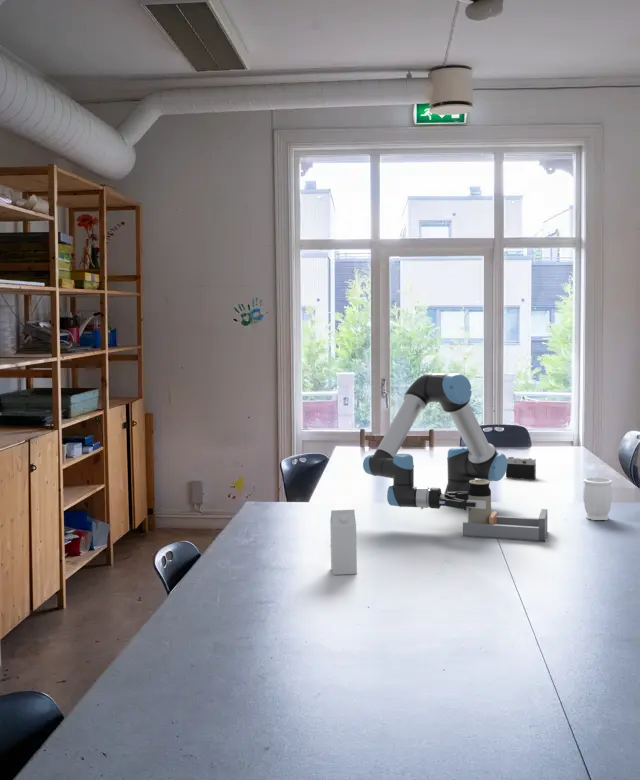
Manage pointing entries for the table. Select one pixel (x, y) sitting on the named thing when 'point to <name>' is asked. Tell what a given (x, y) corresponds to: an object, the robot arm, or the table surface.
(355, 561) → the milk carton
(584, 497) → the jar
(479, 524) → the grey open tray
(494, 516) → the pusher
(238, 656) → the table surface
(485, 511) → the travel mug
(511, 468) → the camera
